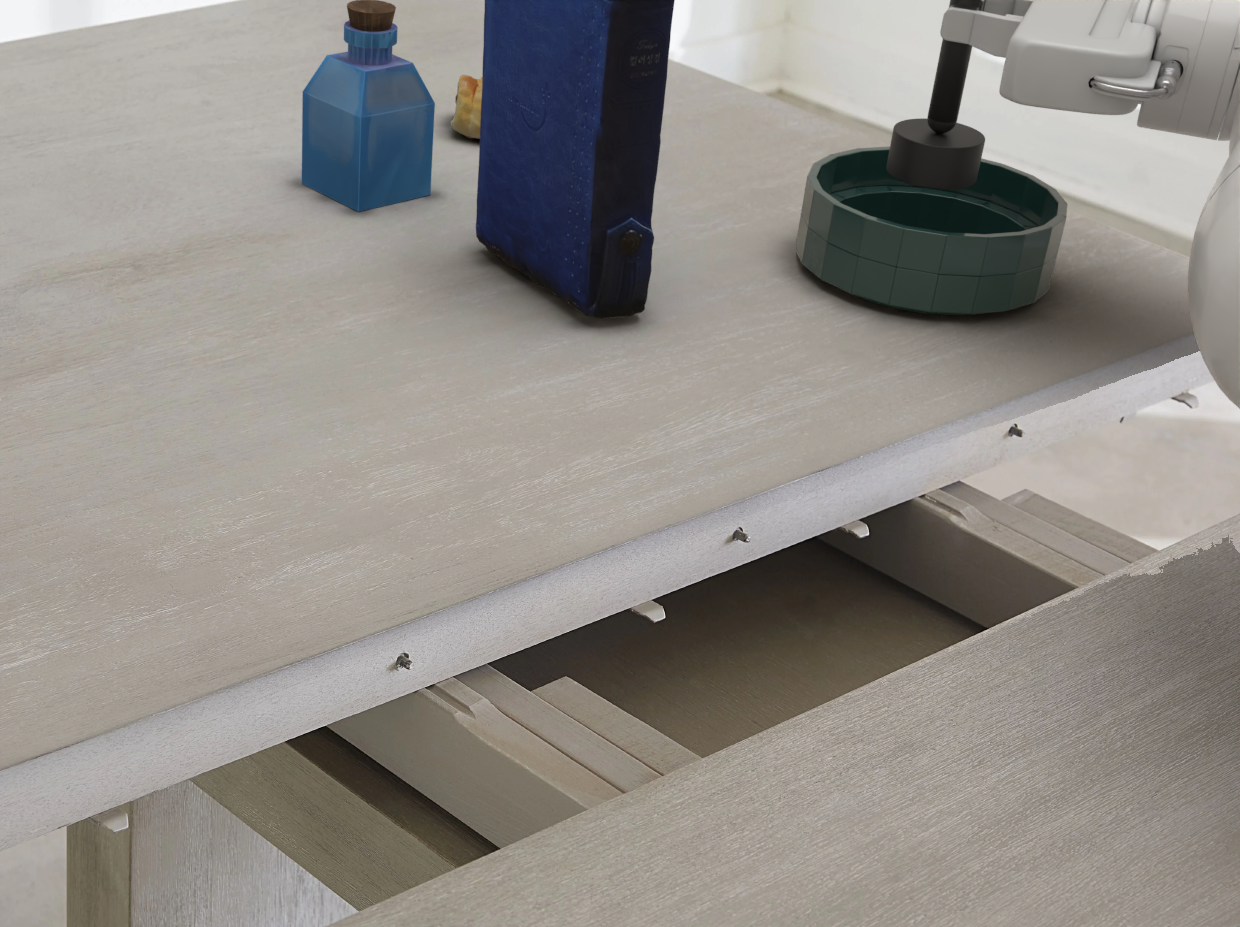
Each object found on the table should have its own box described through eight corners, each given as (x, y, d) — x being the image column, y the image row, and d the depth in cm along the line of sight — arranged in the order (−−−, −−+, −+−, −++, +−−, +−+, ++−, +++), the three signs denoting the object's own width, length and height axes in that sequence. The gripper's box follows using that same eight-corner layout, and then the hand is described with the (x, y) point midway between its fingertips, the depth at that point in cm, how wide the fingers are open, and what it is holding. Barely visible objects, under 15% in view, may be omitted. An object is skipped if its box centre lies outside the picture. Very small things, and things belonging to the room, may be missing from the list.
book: (659, 320, 113) (702, -29, 102) (585, 334, 111) (621, -21, 100) (530, 237, 123) (556, -90, 112) (460, 249, 121) (479, -84, 109)
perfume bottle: (301, 183, 129) (303, 0, 122) (373, 167, 132) (379, -12, 125) (358, 211, 125) (363, 24, 118) (430, 194, 128) (439, 12, 122)
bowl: (1009, 233, 130) (1028, 153, 127) (1078, 329, 117) (1100, 243, 114) (776, 220, 129) (789, 140, 126) (819, 316, 116) (834, 229, 113)
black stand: (963, 161, 121) (1025, -133, 111) (986, 191, 116) (1053, -112, 106) (877, 156, 120) (931, -139, 110) (897, 187, 116) (955, -119, 106)
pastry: (575, 122, 144) (579, 71, 141) (578, 152, 138) (583, 99, 136) (451, 113, 143) (453, 62, 141) (449, 143, 138) (452, 90, 135)
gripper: (1157, 158, 103) (906, 114, 107) (1184, 65, 119) (964, 29, 123) (1189, 39, 100) (928, -2, 103) (1212, -40, 115) (985, -74, 119)
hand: (948, 14), depth 113 cm, fingers closed on black stand
